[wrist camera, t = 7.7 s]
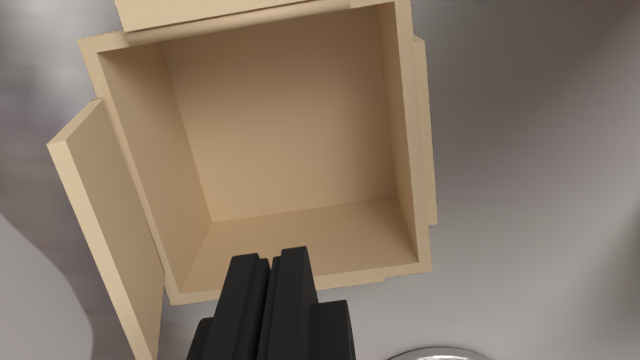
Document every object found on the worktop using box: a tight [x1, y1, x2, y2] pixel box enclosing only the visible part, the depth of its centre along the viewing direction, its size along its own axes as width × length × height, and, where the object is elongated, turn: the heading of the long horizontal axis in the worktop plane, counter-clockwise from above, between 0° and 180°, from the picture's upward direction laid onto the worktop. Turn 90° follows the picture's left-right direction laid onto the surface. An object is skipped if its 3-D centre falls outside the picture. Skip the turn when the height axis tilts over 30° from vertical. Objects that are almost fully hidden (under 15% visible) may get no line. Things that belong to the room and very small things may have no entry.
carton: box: [77, 0, 438, 306], centre depth 24 cm, size 14×14×8 cm
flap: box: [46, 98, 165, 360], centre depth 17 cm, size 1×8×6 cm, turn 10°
